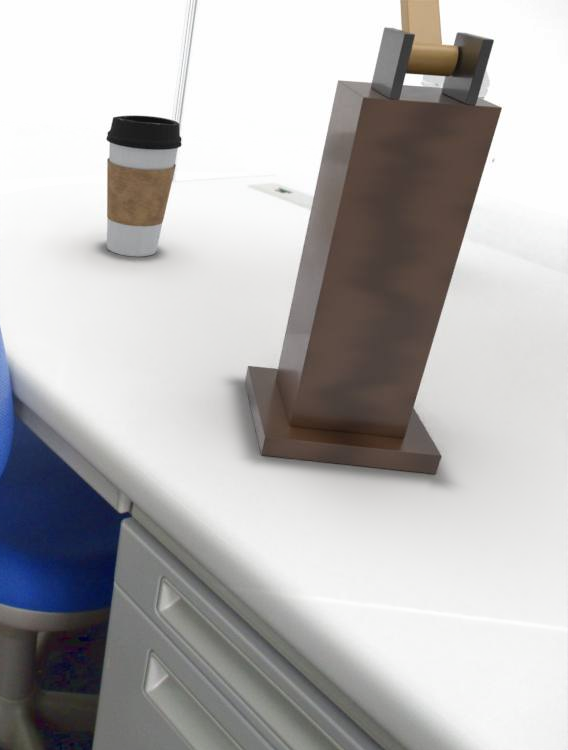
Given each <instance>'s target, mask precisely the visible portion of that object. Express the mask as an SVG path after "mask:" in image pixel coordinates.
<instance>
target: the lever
mask: <svg viewBox="0 0 568 750" xmlns="http://www.w3.org/2000/svg"><path fill="white" fill-rule="evenodd" d="M399 3H400V4H399V5H400V20H401V21H400V23H401V30H402V31H405V32H409V33H412V34H415V37H414V42H413V46H412V50H411V54H410V58H409V62H408V66H407V70H406V75H419V76H420V75H421V76H423V75H433V76H447V77H449V76H451V75H452V73H453V72H454V70H455V67H456V64H457V60H458V47H457V46H455V45H454V44H443V39H442V25H441V12H440V0H399Z"/></svg>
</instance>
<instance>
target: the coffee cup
mask: <svg viewBox="0 0 568 750" xmlns="http://www.w3.org/2000/svg"><path fill="white" fill-rule="evenodd" d="M180 129H181V128H180V123H179V122H178V121H176V120H173V119H169V118H165V117H158V116H150V115H118V116H114V117H112V121H111V125H110V129H109V130H108V131H107V135H106V141H107V142H109V153H108V154H109V155H108V158H107V164H106V165H107V167H106V168H107V170H106V171H107V172H106V173H107V177H106V179H107V180H106V181H107V182H106V183H107V184H106V187H107V188H106V191H107V192H106V202H107V203H106V218H107V219H106V220H107V222H106V248H107V250H108V251H110V252H112V253H115V254H116V255H121V256H125V257H137V258H138V257H149V256H153V255H154V254H156V253H157V251H158V247H159V241H160V237H161V232H162V226H163V222H164V219H165V214H166V210H167V205H168V201H169V197H170V193H171V189H172V183H173V179H174V175H175V171H176V166H177V165H176V163H175V162H176V158H177V153H178V149H179V148H181V147H182V137H181V134H180V132H181V131H180Z"/></svg>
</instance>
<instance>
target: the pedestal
mask: <svg viewBox="0 0 568 750" xmlns="http://www.w3.org/2000/svg"><path fill="white" fill-rule="evenodd" d="M414 37H415V34H412V33H409V32H405V31H402V29H398V28H395V27H384V28H383V32H382V36H381V41H380V46H379V50H378V53H377V58H376V62H375V67H374V71H373V75H372V81H371V82H368V81H367V82H365V81H352V80H339V79H338V81H337V84H336V88H335V93H334V97H333V101H332V107H331V112H330V116H329V122H328V125H327V132H326V136H325V140H324V146H323V150H322V156H321V161H320V165H319V170H318V173H317V174H318V175H317V180H316V184H315V189H314V194H313V199H312V203H311V208H310V213H309V218H308V223H307V227H306V232H305V236H304V237H305V238H304V241H303V247H302V251H301V255H300V260H299V265H298V266H299V267H298V270H297V275H296V280H295V285H294V290H293V294H292V299H291V303H290V304H291V305H290V308H289V314H288V318H287V322H286V328H285V333H284V337H283V343H282V347H281V348H282V349H281V352H280V357H279V360H278V361H279V362H278V366H277V368H275V367H274V368H273V367H264V366H254V365H247V367H246V373H245V379H244V384H245V389H246V392H247V397H248V402H249V406H250V410H251V414H252V421H253V424H254V428H255V434H256V437H257V442H258V446H259V447H258V448H259V450H260V455H261V456H266V457H267V456H268V457H274V458H275V457H277V458H285V459H294V460H303V461H313V462H322V463H333V464H341V465H347V466H348V465H351V466H359V467H366V468H367V467H368V468H375V469H377V468H378V469H387V470H395V471H405V472H412V473H424V474H431V475H437V472H438V469H439V466H440V462H441V461H442V456H443V455H442V454H441V452H440V450H439V449H438V447H437V445H436V444H435V442H434V440H433V439H432V437H431V435H430V433H429V431H428V430H427V428H426V426H425V425H424V423H423V421H422V420H421V418H420V416H419V415H418V412H417V411H416V409H415V404H416V400H417V397H418V394H419V390H420V386H421V384H422V380H423V377H424V374H425V370H426V366H427V363H428V360H429V356H430V354H431V350H432V346H433V343H434V339H435V336H436V333H437V329H438V326H439V322H440V320H441V316H442V312H443V309H444V306H445V303H446V299H447V296H448V292H449V289H450V285H451V282H452V279H453V275H454V272H455V268H456V265H457V261H458V258H459V255H460V252H461V248H462V245H463V243H464V238H465V234H466V231H467V228H468V226H469V225H468V224H469V221H470V217H471V215H472V211H473V207H474V204H475V201H476V198H477V194H478V191H479V188H480V184H481V181H482V177H483V173H484V170H485V167H486V164H487V161H488V156H489V153H490V150H491V147H492V143H493V140H494V137H495V133H496V129H497V128H498V127H497V126H498V123H499V120H500V116H501V112H502V109H503V107H501V106H499V105H497V104H495V103H492V102H491V101H488V100H485V99H484V100H483V99H481V98H479V97H478V96H479V92H480V89H481V85H482V82H483V78H484V74H485V71H487V68H488V63H489V61H490V56H491V54H492V50H493V46H494V42H495V40H494V39H493V38H488V37H486V36H485V37H484V36H480V35H477V34H472V33H468V32H456V34H455V37H454V38H455V39H454V43H453V45H455V46H457V47H458V60H457V64H456V67H455V70H454V72H453V73H452V75H451V76H449V77H447V76H445V80H444V84H443V88H437V87H423V86H420V85H409V84H408V85H407V84H404V83H405V82H404V81H405V78H406V75H407V74H406V70H407V66H408V62H409V58H410V54H411V50H412V46H413V42H414Z"/></svg>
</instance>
